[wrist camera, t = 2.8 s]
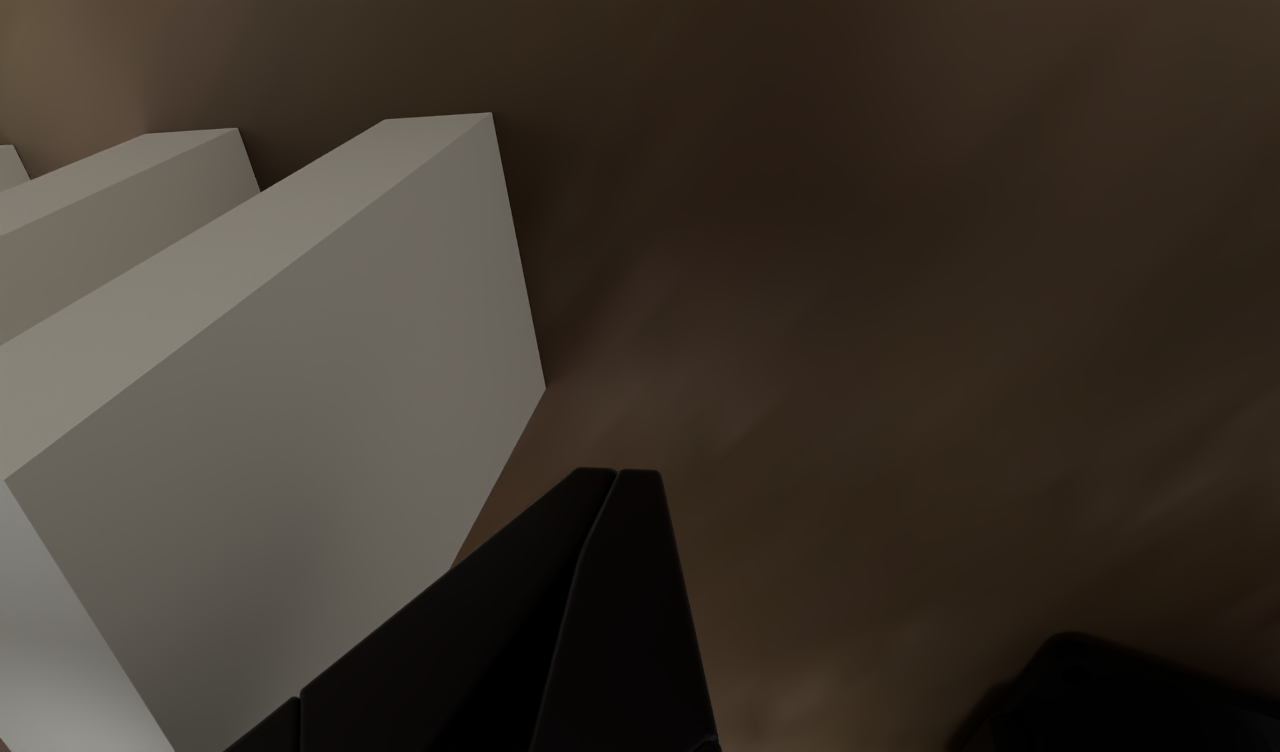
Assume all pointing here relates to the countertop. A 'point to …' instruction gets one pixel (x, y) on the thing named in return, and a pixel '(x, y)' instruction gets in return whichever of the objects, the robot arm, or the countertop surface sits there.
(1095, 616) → the countertop surface
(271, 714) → the robot arm
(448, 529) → the tile
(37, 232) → the tile
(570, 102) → the countertop surface
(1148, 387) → the countertop surface
